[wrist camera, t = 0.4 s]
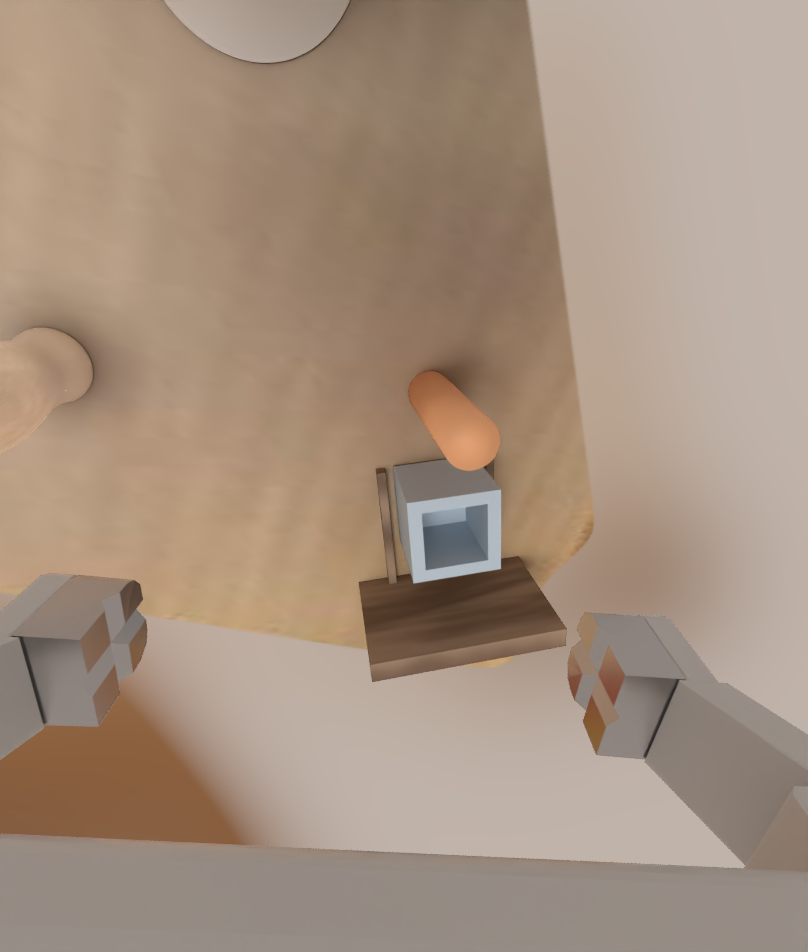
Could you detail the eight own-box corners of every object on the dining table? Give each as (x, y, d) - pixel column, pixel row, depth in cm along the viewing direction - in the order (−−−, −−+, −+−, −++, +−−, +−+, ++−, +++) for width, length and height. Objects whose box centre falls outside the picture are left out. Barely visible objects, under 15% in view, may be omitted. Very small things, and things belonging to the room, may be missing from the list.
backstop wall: (343, 473, 48) (351, 536, 38) (520, 448, 50) (576, 502, 40) (361, 597, 55) (372, 681, 44) (517, 571, 57) (565, 645, 46)
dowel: (406, 373, 45) (442, 419, 33) (449, 368, 46) (500, 412, 33) (410, 415, 47) (444, 474, 34) (451, 410, 48) (500, 466, 35)
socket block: (393, 466, 49) (406, 503, 42) (474, 455, 50) (501, 489, 42) (400, 537, 52) (413, 583, 45) (475, 526, 53) (500, 569, 46)
